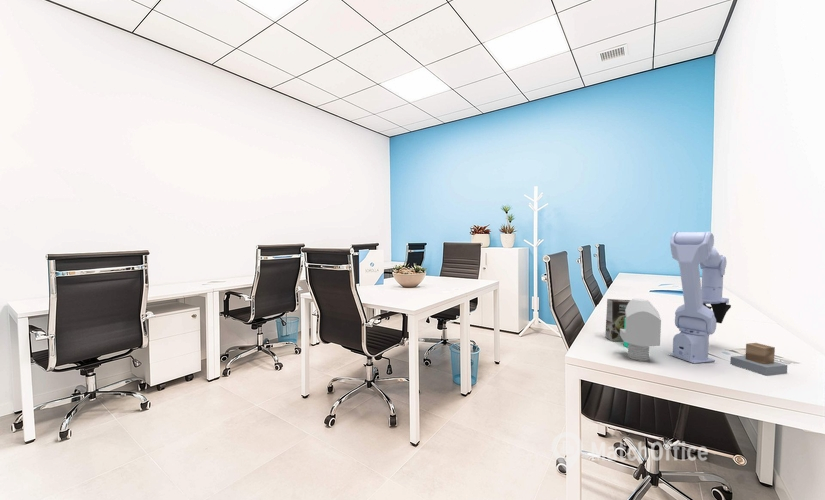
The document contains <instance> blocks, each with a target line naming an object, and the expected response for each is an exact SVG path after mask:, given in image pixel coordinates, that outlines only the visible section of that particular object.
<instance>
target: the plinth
mask: <svg viewBox="0 0 825 500" xmlns="http://www.w3.org/2000/svg"><path fill="white" fill-rule="evenodd" d="M745 358H746V354H744V355H734V356H733V355H731V356H730V360H729V361H730V363H729V364H730V365H731V364H732V365H731V366H734V365H735V367H738V368H741V367H742V368H741V369H744V368H746V369H745V370H747V369H748V371H750V370H751V371H750V372H753V373H757V374H758V375H759V374H760V375H763V376H773V375H783V374H788V364H784V363H781V362H778V361H774V363H772V364H761V363H757V362H754V361H750V360H747V359H745Z"/></svg>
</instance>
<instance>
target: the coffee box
mask: <svg viewBox="0 0 825 500" xmlns="http://www.w3.org/2000/svg"><path fill="white" fill-rule="evenodd" d="M631 300H632V299H618V298H617V299H615V298H613V299H612V298H607V299H606V315H605V316H606V317H605V318H606V319H605V334H604V336H605V338H607V339H608V340H609V341H610V342H617V343H618V342H619V343H624V341H623V340H622V338H621V336H620V329H624V323H625V318H626V315H625V309H626V307H627V305H628V303H629V302H630V301H631Z"/></svg>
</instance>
